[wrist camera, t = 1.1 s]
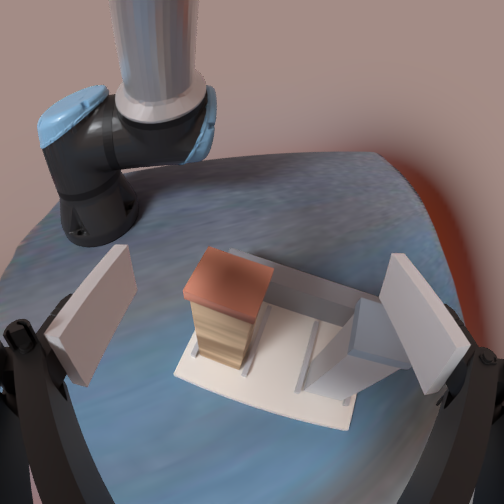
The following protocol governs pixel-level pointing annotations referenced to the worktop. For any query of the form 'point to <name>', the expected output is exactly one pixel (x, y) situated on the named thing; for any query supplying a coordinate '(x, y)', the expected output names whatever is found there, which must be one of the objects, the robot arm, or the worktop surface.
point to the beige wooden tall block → (226, 304)
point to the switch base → (283, 348)
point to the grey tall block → (358, 354)
